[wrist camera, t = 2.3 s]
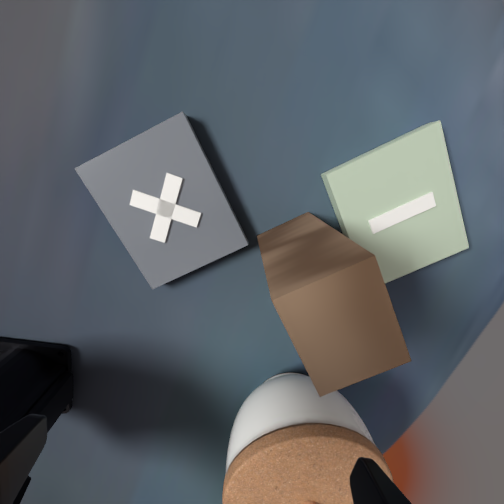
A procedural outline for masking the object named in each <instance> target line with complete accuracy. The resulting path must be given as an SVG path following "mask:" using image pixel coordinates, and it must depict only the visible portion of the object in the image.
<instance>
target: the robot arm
mask: <svg viewBox="0 0 504 504" xmlns="http://www.w3.org/2000/svg"><path fill="white" fill-rule="evenodd" d="M61 351H62V352H63V353H62V352H61ZM72 399H73V374H72V371H71V350H70V348H69V347H67V346H64V345H56V344H48V343H39V342H31V341H22V340H14V339H5V338H0V504H20V502H21V500H22V498H23V496H24V493H25V491H26V489H27V487H28V485H29V483H30V480H31V477H29V476H28V474H29V473H30V471H31V469H32V467H33V466H34V464H35V462H36V460H37V458H38V457H39V455H40V453H41V451H42V449H43V448H44V445H45V443H46V440H47V433H48V431H49V430H50V429H51V427H52V426H53V425H54V423H55V422H56V420H57V419H58V418H59V416H60V415H61V414H62V413H68V412H69V410H70V409H71V407H72ZM350 488H351V493H352V499H353V504H411V503H410V501H409V500H408V499H407V498H406V497H405V496H404V494H402V492H401V491H400V490H399V489H398V487H397V486H396V485H395V484H394V483H393V482H392V480H391V479H390V478H389V477H388V476H387V475H386V473H385V472H384V471H383V470H382V469H381V468H380V467H379V465H378V464H377V463H376V462H375V461H374V460H373V459H371V458H364V457H359V458H358V459H357V461H356V463H355V465H354V468H353V470H352V472H351V474H350Z"/></svg>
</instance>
